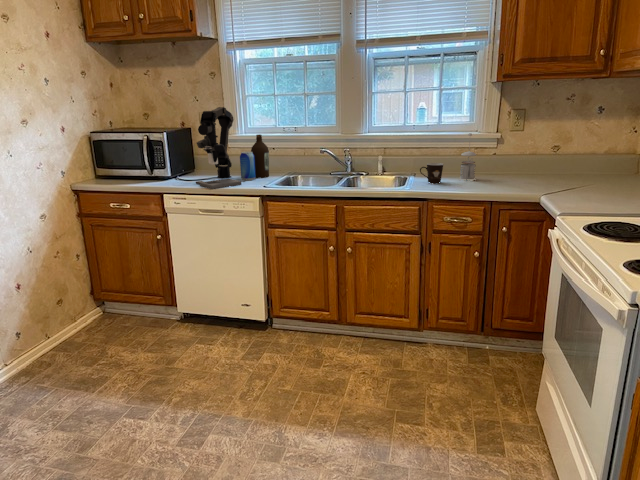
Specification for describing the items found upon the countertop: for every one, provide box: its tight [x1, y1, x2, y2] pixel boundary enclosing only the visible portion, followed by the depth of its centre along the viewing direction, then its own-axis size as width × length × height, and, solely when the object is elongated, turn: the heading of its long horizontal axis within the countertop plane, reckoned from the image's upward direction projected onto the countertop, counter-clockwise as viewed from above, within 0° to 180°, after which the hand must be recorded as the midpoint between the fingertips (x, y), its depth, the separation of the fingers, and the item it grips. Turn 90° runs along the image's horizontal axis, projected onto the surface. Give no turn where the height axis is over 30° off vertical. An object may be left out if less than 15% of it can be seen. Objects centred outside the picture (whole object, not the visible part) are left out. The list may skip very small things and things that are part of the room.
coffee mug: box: [419, 162, 444, 184], centre depth 257 cm, size 12×9×10 cm
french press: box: [459, 133, 477, 180], centre depth 260 cm, size 10×12×25 cm
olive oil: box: [250, 134, 270, 179], centre depth 287 cm, size 11×11×25 cm
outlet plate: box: [199, 177, 242, 190], centre depth 265 cm, size 18×14×2 cm
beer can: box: [239, 151, 256, 182], centre depth 280 cm, size 8×8×16 cm
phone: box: [195, 180, 205, 186], centre depth 271 cm, size 4×7×1 cm, turn 40°
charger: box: [207, 153, 218, 166], centre depth 274 cm, size 4×4×6 cm
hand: (213, 161), depth 274 cm, fingers closed on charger, 4 cm apart
